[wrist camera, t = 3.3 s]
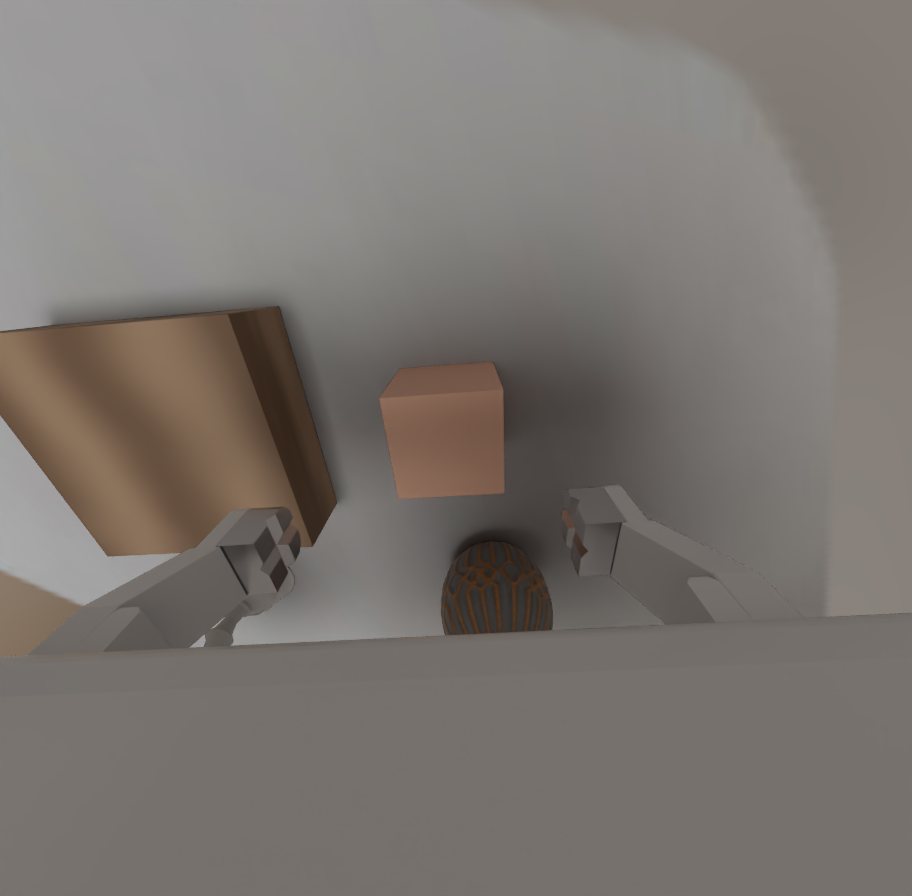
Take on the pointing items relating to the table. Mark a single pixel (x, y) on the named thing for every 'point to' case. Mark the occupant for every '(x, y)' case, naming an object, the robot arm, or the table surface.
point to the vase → (495, 592)
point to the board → (167, 424)
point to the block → (445, 430)
